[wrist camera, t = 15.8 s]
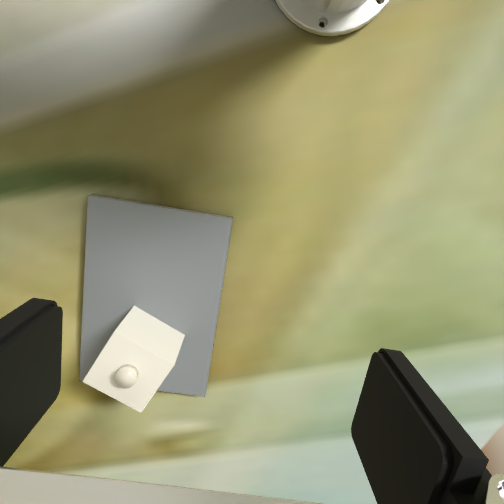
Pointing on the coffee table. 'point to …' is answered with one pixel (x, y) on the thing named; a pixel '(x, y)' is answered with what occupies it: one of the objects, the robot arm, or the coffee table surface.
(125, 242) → the board
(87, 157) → the coffee table surface
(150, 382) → the white knobbed cube
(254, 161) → the coffee table surface
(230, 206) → the coffee table surface
